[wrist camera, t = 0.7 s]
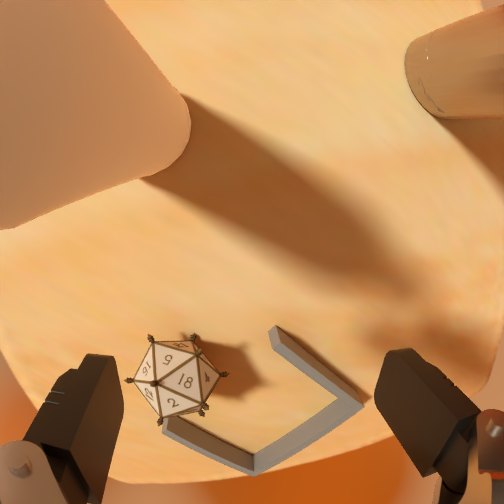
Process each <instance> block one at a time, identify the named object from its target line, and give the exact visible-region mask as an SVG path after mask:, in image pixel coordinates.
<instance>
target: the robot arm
mask: <svg viewBox="0 0 504 504" xmlns="http://www.w3.org/2000/svg"><path fill="white" fill-rule="evenodd" d="M405 70H406V76H407V79H408V83H409V85H410V87H411V90H412V92H413V93H414V95H415V97H416V98H417V100H418V101H419V102H420V103H421V105H422V106H423V107H424V108H425V109H426V110H428V111H429V112H430V113H431V114H433V115H435V116H436V117H439V118H442V119H504V5H501V6H498V7H495V8H492V9H489V10H486V11H483V12H480V13H478V14H475V15H472V16H470V17H467V18H464V19H462V20H459V21H457V22H454V23H452V24H449V25H447V26H445V27H442V28H440V29H437V30H435V31H433V32H430V33H428V34H426V35H424V36H421V37H419V38H417V39H415V40H414V41H413V42H412V43H411V44H410V46H409V47H408V49H407V52H406V55H405ZM374 400H375V404H376V407H377V409H378V410H379V412H380V413H381V415H382V416H383V418H384V419H385V421H386V422H387V424H388V425H389V427H390V428H391V430H392V431H393V433H394V434H395V436H396V437H397V439H398V440H399V442H400V443H401V445H402V446H403V448H404V449H405V451H406V453H407V454H408V455H409V457H410V459H411V460H412V462H413V463H414V465H415V466H416V468H417V469H418V471H419V472H420V474H421V476H422V477H426V476H428V475H431V474H433V473H436V472H438V473H439V475H440V476H439V477H438V479H437V481H436V484H435V490H434V495H433V501H432V504H504V412H502V411H500V410H495V409H488V410H484V411H481V410H480V409H479V408H478V407H477V406H476V405H475V404H474V403H473V402H472V401H471V400H470V399H469V398H468V397H467V396H466V395H465V394H464V393H463V392H462V391H461V390H460V389H459V388H458V387H457V386H454V383H453V382H452V381H451V380H450V379H449V378H448V379H447V376H446V375H445V374H444V373H442V372H441V371H440V370H439V369H438V368H437V367H435V366H434V365H432V364H430V363H428V362H426V361H425V360H424V359H423V358H422V357H421V356H420V355H419V354H418V353H417V352H416V351H415V350H413V349H412V348H405V349H398V350H391V351H389V352H388V353H387V354H386V356H385V358H384V362H383V365H382V368H381V372H380V375H379V378H378V381H377V384H376V388H375V392H374ZM123 413H124V401H123V395H122V390H121V386H120V381H119V376H118V371H117V365H116V361H115V358H114V357H113V356H108V355H98V354H89V353H88V354H87V355H86V356H85V358H84V359H83V361H82V363H81V365H80V366H79V368H78V369H69V370H68V371H67V372H65V373H64V374H63V375H61V376H60V377H59V378H58V379H57V381H56V382H55V384H54V386H53V387H52V389H51V393H50V392H49V394H48V396H47V397H46V399H45V403H43V404H42V406H41V408H40V409H39V411H38V413H37V415H36V417H35V418H34V420H33V422H32V424H31V426H30V427H29V429H28V431H27V433H26V435H25V437H24V438H23V440H17V441H12V442H8V443H6V444H4V445H2V446H1V447H0V504H87V503H91V504H101V502H102V498H103V494H104V489H105V485H106V481H107V476H108V472H109V468H110V464H111V460H112V456H113V452H114V448H115V445H116V441H117V437H118V433H119V430H120V426H121V422H122V419H123Z"/></svg>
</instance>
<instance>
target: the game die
mask: <svg viewBox="0 0 504 504" xmlns="http://www.w3.org/2000/svg"><path fill="white" fill-rule="evenodd" d="M195 338H196V336H195V333H194V334H193V335H191V337H190V341H154V338H153V336H151V335H149V334H148V340H149V342H151V345H150V347H149V349H148V351H147V353H146V355H145V357H144V359H143V361H142V363H141V365H140V367H139V368H138V370H137V372H136V374H135V376H134V378H133V379H132V378H127V379H125V380H124V381H125V382H127V383H128V384H129V383H132V382H134V383H135V385H136V386H137V388H138V389H139V390H140V392H141V393H142V394H143V396H144V397H145V398H146V400H147V401H148V402H149V403H150V405H151V406H152V407H153V409H154V410H155V411H156V412H157V414H158V415H159V416H160V418H159V419H158V421H157V422H158V427H159V426H160V425H162V424H163V422H164V421H163V419H164V418H169V417H174V416H179V415H184V414H189V413H194V412H199V414H200V416H203V417H205V416H204V414H205V413H204V412H203V410H201V409H202V408H203V409H204V410H209V405H207V403H206V401H207V399H208V397H209V396H210V394H211V392H212V391H213V389H214V387H215V385H216V384H217V382H218V380H219V378H220V377H227V376H228V375H229V373H227V372H226V371H225V372H222V373H219V371H218V370H217V369H216V368H215V367H214V366H213V364H212V363H211V362H210V361H209V360H208V359H207V357H206V356H205V355H204V354H203V353H202V349H199V348H198V347H197V346H196V344H195V343H194V342H193V341H194V340H195Z"/></svg>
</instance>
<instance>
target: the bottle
mask: <svg viewBox="0 0 504 504" xmlns="http://www.w3.org/2000/svg"><path fill="white" fill-rule="evenodd" d="M191 124H192V123H191V118H190V114H189V109H188V106H187V103H186V102H185V101H184V99H183V98H182V96H181V95H180V93H179V92H178V90H177V89H176V88H175V87H173V86H172V85H171V83H170V82H169V81H168V80H167V78H166V77H165V76H164V74H163V73H162V72H161V70H160V69H159V68H158V67H157V65H156V64H155V63H154V62H153V60H152V59H151V58H150V56H149V55H148V54H147V53H146V51H145V50H144V49H143V48H142V46H141V45H140V44H139V43H138V41H137V40H136V39H135V38H134V36H133V35H132V34H131V33H130V31H129V30H128V29H127V28H126V26H125V25H124V24H123V23H122V21H121V20H120V19H119V18H118V17H117V15H116V14H115V13H114V12H113V10H112V9H111V8H110V7H109V6H108V4H107V3H106V2H105V1H104V0H0V230H3V229H10V228H15V227H17V226H20V225H22V224H24V223H26V222H28V221H30V220H33V219H35V218H37V217H39V216H42V215H44V214H46V213H49V212H51V211H53V210H56V209H58V208H60V207H63V206H65V205H68V204H70V203H73V202H75V201H78V200H80V199H83V198H85V197H88V196H90V195H93V194H96V193H98V192H101V191H104V190H106V189H109V188H112V187H114V186H117V185H120V184H123V183H126V182H129V181H131V180H134V179H137V178H140V177H144V176H151V175H153V174H155V173H157V172H159V171H161V170H163V169H165V168H167V167H169V166H170V165H171V164H172V163H173V162H174V161H175V160H176V159H177V158H178V157H179V156H180V155H181V154H182V153H183V151H184V149H185V147H186V145H187V143H188V141H189V139H190V131H191Z"/></svg>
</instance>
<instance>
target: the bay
mask: <svg viewBox="0 0 504 504" xmlns="http://www.w3.org/2000/svg"><path fill="white" fill-rule="evenodd" d="M268 333H269V337H270V341H271V345H272V349H273V350H274V351H276V352H277V353H278V354H280V355H281V356H282V357H284V358H285V359H286V360H287V361H289V362H290V363H291V364H293V365H294V366H295V367H297V368H298V369H299V370H301V371H302V372H303V373H305V374H306V375H307V376H309V377H310V378H311V379H313V380H314V381H315V382H317V383H318V384H320V385H321V386H322V387H324V388H325V389H326V390H328V391H329V392H331V393H332V394H333V395H335V396H336V397H338V399H337V400H335V401H334V402H333V403H331V404H330V405H329V406H327V407H326V408H324V409H323V410H322V411H320V412H319V413H317V414H316V415H315V416H313V417H312V418H310V419H309V420H307V421H306V422H305V423H303V424H302V425H300V426H299V427H297V428H296V429H294V430H293V431H291V432H290V433H288V434H286V435H285V436H283V437H282V438H280V439H279V440H277V441H275V442H274V443H272V444H270V445H269V446H267V447H266V448H264V449H262V450H261V451H259V452H257V453H255V454H254V455H250V454H248V453H246V452H244V451H242V450H239V449H237V448H235V447H233V446H231V445H229V444H227V443H225V442H223V441H221V440H219V439H217V438H215V437H213V436H212V435H210V434H208V433H206V432H204V431H202V430H200V429H199V428H197V427H195V426H193V425H191V424H190V423H188V422H186V421H184V420H183V419H181V418H179V417H178V416H174V417H169V418H164V422H163V427H162V434H164V435H166V436H168V437H170V438H172V439H173V440H175V441H177V442H179V443H181V444H183V445H185V446H187V447H189V448H191V449H193V450H195V451H197V452H199V453H201V454H203V455H205V456H207V457H209V458H211V459H213V460H216V461H218V462H220V463H222V464H224V465H227V466H229V467H231V468H234V469H236V470H238V471H241V472H243V473H246V474H248V475H251V476H253V477H255V476H256V475H258V474H260V473H262V472H264V471H266V470H268V469H270V468H271V467H273V466H275V465H277V464H279V463H280V462H282V461H284V460H286V459H287V458H289V457H291V456H292V455H294V454H296V453H298V452H299V451H301V450H302V449H304V448H306V447H307V446H309V445H310V444H312V443H314V442H315V441H317V440H318V439H320V438H321V437H323V436H324V435H326V434H327V433H329V432H330V431H332V430H333V429H335V428H336V427H338V426H339V425H340V424H342V423H343V422H345V421H346V420H347V419H349V418H350V417H352V416H353V415H354V414H356V413H357V412H358V411H360V410H361V409H362V408H364V405H363V403H362V401H361V399H360V397H359V395H358V393H357V391H356V390H355V389H353V388H352V387H351V386H349V385H348V384H347V383H346V382H344V381H343V380H342V379H341V378H339V377H338V376H337V375H336V374H334V373H333V372H332V371H331V370H329V369H328V368H327V367H326V366H324V365H323V364H322V363H321V362H319V361H318V360H317V359H316V358H314V357H313V356H312V355H311V354H310V353H308V352H307V351H306V350H305V349H303V348H302V347H301V346H300V345H299V344H297V343H296V342H295V341H294V340H293V339H291V338H290V337H289V336H288V335H287V334H285V333H284V332H283V331H282V330H281V329H279V328H278V327H277V326H276V325H275V326H274V327H273V328H272V329H271V330H270V331H268Z"/></svg>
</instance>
